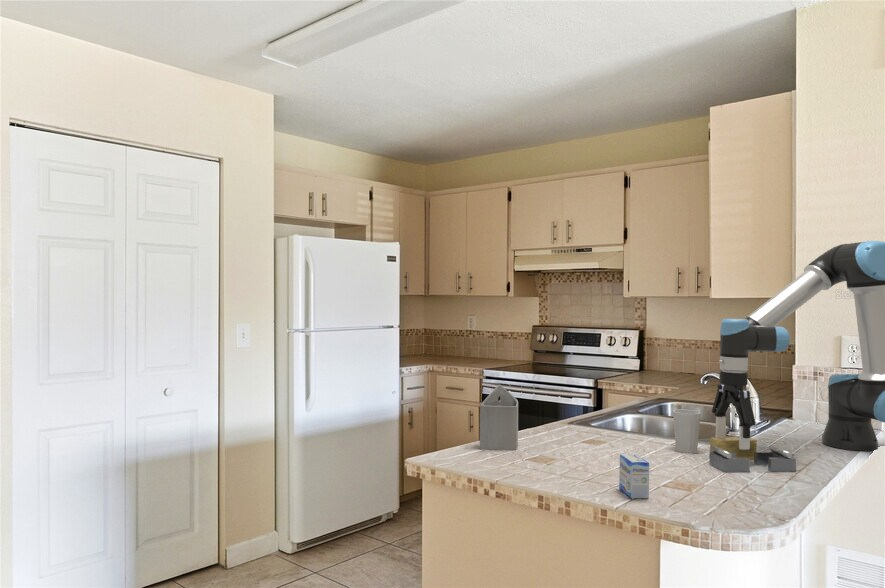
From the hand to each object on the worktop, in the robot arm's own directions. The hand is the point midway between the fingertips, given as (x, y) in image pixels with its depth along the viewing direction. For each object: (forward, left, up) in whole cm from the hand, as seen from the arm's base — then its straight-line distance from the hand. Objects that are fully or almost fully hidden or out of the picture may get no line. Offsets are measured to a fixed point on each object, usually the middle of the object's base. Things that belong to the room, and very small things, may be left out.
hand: (732, 443), depth 185 cm
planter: (+64, -15, -5) cm, 66 cm away
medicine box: (+41, +32, -5) cm, 52 cm away
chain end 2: (-7, +10, -4) cm, 13 cm away
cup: (+9, -10, -5) cm, 14 cm away
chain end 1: (+6, +10, -4) cm, 12 cm away
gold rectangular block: (0, 0, -5) cm, 5 cm away
